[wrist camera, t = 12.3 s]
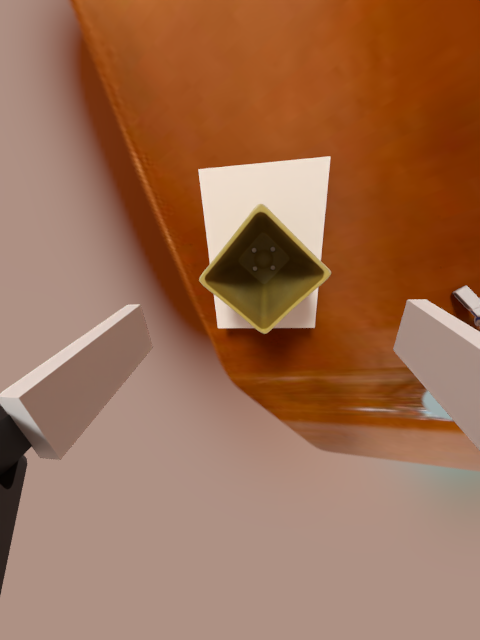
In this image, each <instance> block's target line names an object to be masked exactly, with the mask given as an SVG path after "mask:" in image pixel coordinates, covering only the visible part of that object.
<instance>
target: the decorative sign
mask: <svg viewBox="0 0 480 640" xmlns="http://www.w3.org/2000/svg"><path fill="white" fill-rule="evenodd" d="M452 293H453V294H454V296H455V297H456V298H457V299H458V300H459V301H460V302H461V303H462V304H463V305H464V306H465V308H466V309H467V310H469V311H470V312H471V313H472V314H473V315H474V316H475V317H474V323H475V325H476V326H479V327H480V299H479V298H478V297H477V296H476V295H475V294H474V293H473V292H472V290H471V289H470V288H469V287H468V286H463V287H461V288H459V289H458V290H456V291H454V292H452Z"/></svg>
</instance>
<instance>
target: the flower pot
mask: <svg viewBox="0 0 480 640" xmlns="http://www.w3.org/2000/svg"><path fill="white" fill-rule="evenodd" d="M271 247H274V248H275V251H273V252H272V251H271V250H270V249H271ZM253 248H256V252H255V253H254V252H252V249H253ZM271 266H275V269H274V270H272V269H271ZM253 267H257V270H256V271H254V270H253ZM330 275H331V271H330V270H329V269H328V268H327V267H326V266H325V265H324V264H323V263H322V262H321V261H320V260H319V259H318V258H317V257H316V256H315V255H314V254H313V253H312V252H311V251H310V250H309V249H308V248H307V247H306V246H305V245H304V244H303V243H302V242H301V241H300V240H299V239H298V238H297V237H296V236H295V235H294V234H293V233H292V232H291V231H290V230H289V229H288V228H287V227H286V226H285V225H284V224H283V223H282V222H281V221H280V220H279V219H278V218H277V217H276V216H275V215H274V214H273V213H272V212H271V211H270V210H269V209H268V208H267V207H266V206H265V205H263V204H258V205H257V206H256V207H255V208H254V209H253V210H252V212H251V213H250V214H249V216H248V217H247V218H246V219H245V221H244V222H243V223H242V225H241V226H240V227H239V228H238V230H237V231H236V232H235V234H234V235H233V236H232V237H231V239H230V240H229V241H228V242H227V244H226V245H225V246H224V247H223V249H222V250H221V251H220V252H219V254H218V255H217V256H216V257H215V259H214V260H213V261H212V262H211V263H210V264H209V266H208V267H207V268H206V269H205V271H204V272H203V273H202V275H201V276H200V278H199V281H200V283H201V284H202V285H203V286H204V287H206V288H207V289H208V290H209V291H210V292H212V293H213V294H214V295H215V296H217V297H218V298H219V299H220V300H222V301H223V302H224V303H225V304H227V305H228V306H229V307H230V308H231V309H233V310H234V311H235V312H236V313H237V314H239V315H240V316H241V317H242V318H243V319H245V320H246V321H247V322H248V323H249V324H250V325H252V326H253V327H254V328H255V329H256V330H258V331H259V332H261V333H263V334H266V333H268V332H269V331H270V330H271V329H273V328H274V327H275V326H276V325H277V324H278V323H279V322H280V321H281V320H282V319H283V318H284V317H285V316H286V315H287V314H288V313H289V312H290V311H292V310H293V309H294V308H295V307H296V306H297V305H298V304H299V303H300V302H302V301H303V300H304V299H305V298H306V297H307V296H309V295H310V294H311V293H312V292H313V291H314V290H315V289H317V288H318V287H319V286H320V285H321V284H323V283H324V282H325V281H326V280H327V279H328V278H329V276H330Z"/></svg>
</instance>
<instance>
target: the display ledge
mask: <svg viewBox="0 0 480 640" xmlns="http://www.w3.org/2000/svg"><path fill="white" fill-rule="evenodd" d="M329 167H330V156H329V157H319V158H309V159H298V160H288V161H278V162H268V163H258V164H247V165H237V166H227V167H217V168H207V169H198V171H199V179H200V187H201V195H202V203H203V211H204V219H205V227H206V235H207V243H208V252H209V260H210V263H211V262H212V261H213V260H214V259H215V257H216V256H217V255H218V254H219V252H220V251H221V250H222V249H223V247H224V246H225V245H226V244H227V242H228V241H229V240H230V239H231V237H232V236H233V235H234V234H235V232H236V231H237V230H238V228H239V227H240V226H241V225H242V223H243V222H244V221H245V219H246V218H247V217H248V216H249V214H250V213H251V212H252V210H253V209H254V208H255V207H256V206H257V205H258V204H263V205H265V206H266V207H267V208H268V209H269V210H270V211H271V212H272V213H273V214H274V215H275V216H276V217H277V218H278V219H279V220H280V221H281V222H282V223H283V224H284V225H285V226H286V227H287V228H288V229H289V230H290V231H291V232H292V233H293V234H294V235H295V236H296V237H297V238H298V239H299V240H300V241H301V242H302V243H303V244H304V245H305V246H306V247H307V248H308V249H309V250H310V251H311V252H312V253H313V254H314V255H315V256H316V257H317V258H318V259H319V260H320V261H321V253H322V243H323V232H324V221H325V210H326V200H327V189H328V178H329ZM270 250H271V251H272V252H273V251H275V248H274V247H271V249H270ZM252 252H254V253H255V252H256V248H253V249H252ZM271 269H272V270H274V269H275V266H271ZM253 270H254V271H256V270H257V267H253ZM317 297H318V288H317V289H315V290H314V291H313V292H312V293H311V294H310V295H309V296H307V297H306V298H305V299H304V300H303V301H302V302H300V303H299V304H298V305H297V306H296V307H295V308H294V309H293V310H292V311H290V312H289V313H288V314H287V315H286V316H285V317H284V318H283V319H282V320H281V321H280V322H279V323H278V324H277V325H276V326H275V327H274V328H315V318H316V307H317ZM214 300H215V308H216V316H217V324H218V328H254V327H253V326H252V325H250V324H249V323H248V322H247V321H246V320H245V319H243V318H242V317H241V316H240V315H239V314H237V313H236V312H235V311H234V310H233V309H231V308H230V307H229V306H228V305H227V304H225V303H224V302H223V301H222V300H220V299H219V298H218V297H217V296H215V295H214Z"/></svg>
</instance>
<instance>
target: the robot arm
mask: <svg viewBox="0 0 480 640" xmlns="http://www.w3.org/2000/svg"><path fill="white" fill-rule="evenodd" d="M152 348H153V347H152V343H151V339H150V336H149V332H148V329H147V325H146V322H145V318H144V314H143V311H142V308H141V305H140V304H139V305H126V306H125V307H123V308H122V309H121V310H119V311H118V312H116V313H115V314H113V315H112V316H111V317H109V318H108V319H106V320H105V321H103V322H102V323H100V324H99V325H98V326H96V327H95V328H93V329H92V330H90V331H89V332H87V333H86V334H85V335H83V336H82V337H80V338H79V339H78V340H76V341H75V342H73V343H72V344H70V345H69V346H68V347H66V348H65V349H63V350H62V351H60V352H59V353H57V354H56V355H54V356H53V357H52V358H50V359H49V360H47V361H46V362H44V363H43V364H42V365H40V366H39V367H37V368H36V369H34V370H33V371H31V372H30V373H29V374H27V375H26V376H24V377H23V378H21V379H20V380H18V381H17V382H16V383H14V384H13V385H11V386H10V387H9V388H7V389H6V390H4V391H3V392H1V393H0V594H1V589H2V584H3V579H4V574H5V570H6V565H7V560H8V555H9V550H10V545H11V540H12V535H13V530H14V526H15V520H16V516H17V511H18V506H19V501H20V496H21V491H22V487H23V482H24V477H25V472H26V467H27V459H26V457H25V456H24V453H25V452H26V451H27V450H28V449H29V448H30V447H31V446H32V447H33V449H34V450H35V451H36V453H37V454H38V456H39V457H40V458H46V459H59V460H61V459H62V457H63V456H64V455H65V454H66V452H67V451H68V450H69V449H70V448H71V446H72V445H73V444H74V443H75V442H76V440H77V439H78V438H79V437H80V435H81V434H82V433H83V432H84V431H85V429H86V428H87V427H88V426H89V425H90V423H91V422H92V421H93V420H94V418H95V417H96V416H97V415H98V414H99V412H100V411H101V410H102V409H103V408H104V406H105V405H106V404H107V403H108V401H109V400H110V399H111V398H112V397H113V395H114V394H115V393H116V392H117V391H118V389H119V388H120V387H121V386H122V384H123V383H124V382H125V381H126V380H127V378H128V377H129V376H130V375H131V373H132V372H133V371H134V370H135V369H136V367H137V366H138V365H139V364H140V363H141V361H142V360H143V359H144V358H145V357H146V355H147V354H148V353H149V352H150V350H151V349H152ZM393 350H394V351H395V353H396V354H397V355H398V356H399V357H400V358H401V360H402V361H403V362H404V363H405V364H406V365H407V367H408V368H409V369H410V370H411V371H412V372H413V374H414V375H415V376H416V377H417V378H418V379H419V381H420V382H421V383H422V384H423V385H424V386H425V388H426V389H427V390H428V391H429V392H430V393H431V395H432V396H433V397H434V398H435V399H436V400H437V402H438V403H439V404H440V405H441V406H442V407H443V408H444V410H445V411H446V412H447V413H448V414H449V416H450V417H451V418H452V419H453V420H454V421H455V423H456V424H457V425H458V426H459V427H460V428H461V430H462V431H463V432H464V433H465V434H466V435H467V437H468V438H469V439H470V440H471V441H472V442H473V444H474V445H475V446H476V447H477V448H478V449H479V451H480V332H479V331H478V330H476V329H474V328H473V327H471V326H469V325H468V324H466V323H464V322H463V321H461V320H459V319H458V318H456V317H454V316H453V315H451V314H449V313H448V312H446V311H444V310H443V309H441V308H439V307H438V306H436V305H434V304H433V303H431V302H429V301H428V300H426V299H421V300H407V303H406V306H405V310H404V313H403V317H402V320H401V324H400V328H399V331H398V335H397V338H396V342H395V345H394V349H393Z"/></svg>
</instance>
